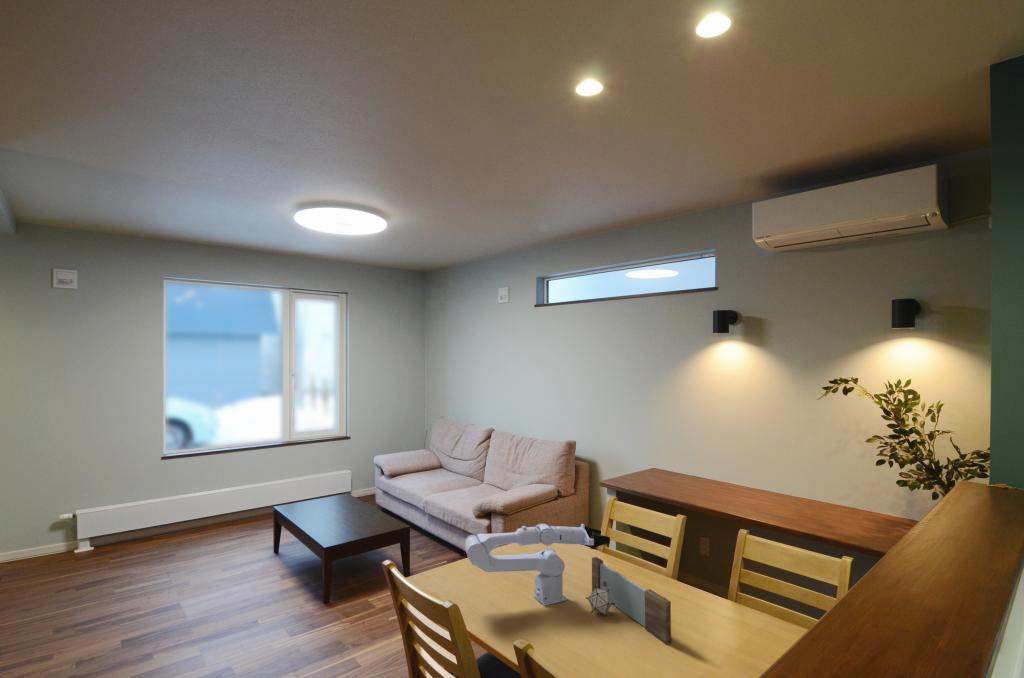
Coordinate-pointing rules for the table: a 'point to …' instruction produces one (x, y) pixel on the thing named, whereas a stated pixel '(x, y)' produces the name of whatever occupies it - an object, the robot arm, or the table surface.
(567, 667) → the table surface
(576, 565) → the table surface
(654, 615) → the wall frame
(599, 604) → the game die
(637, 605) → the door
